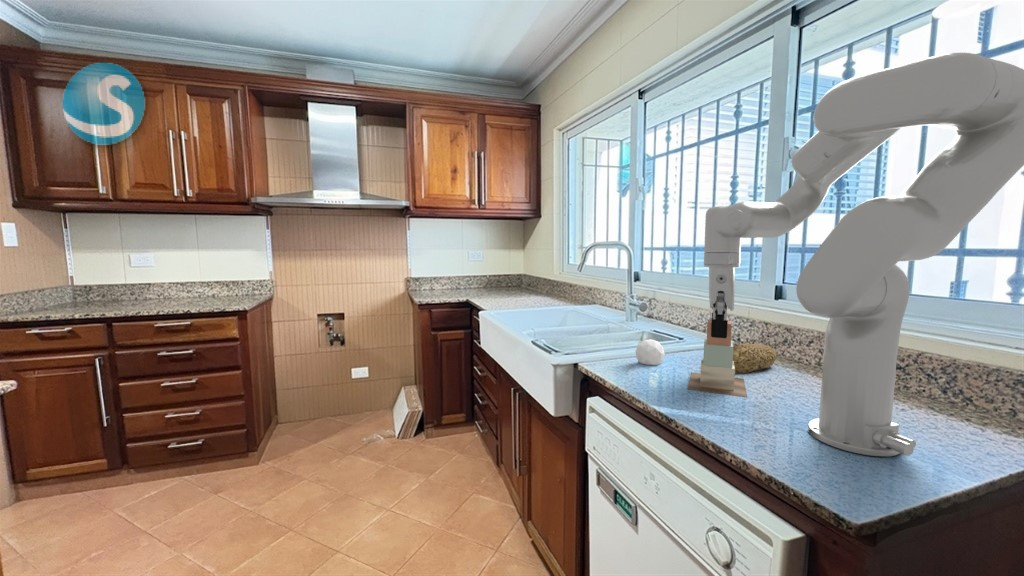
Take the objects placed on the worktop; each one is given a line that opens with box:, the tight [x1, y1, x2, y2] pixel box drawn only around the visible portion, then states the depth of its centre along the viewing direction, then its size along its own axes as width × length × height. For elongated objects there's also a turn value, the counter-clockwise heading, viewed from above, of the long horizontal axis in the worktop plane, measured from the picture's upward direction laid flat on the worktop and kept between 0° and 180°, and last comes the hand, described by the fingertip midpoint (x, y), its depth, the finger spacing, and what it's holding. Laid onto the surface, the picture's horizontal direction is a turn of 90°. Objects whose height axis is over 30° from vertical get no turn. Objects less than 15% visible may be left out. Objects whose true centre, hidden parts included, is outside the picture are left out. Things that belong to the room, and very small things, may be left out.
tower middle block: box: [702, 338, 734, 368], centre depth 96 cm, size 6×6×5 cm
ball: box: [635, 339, 665, 366], centre depth 115 cm, size 8×8×8 cm
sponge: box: [733, 343, 778, 374], centre depth 113 cm, size 13×8×20 cm
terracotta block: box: [706, 319, 733, 346], centre depth 96 cm, size 5×5×5 cm
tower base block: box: [700, 357, 736, 391], centre depth 97 cm, size 7×7×5 cm
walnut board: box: [687, 371, 748, 399], centre depth 97 cm, size 14×12×1 cm
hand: (718, 333), depth 96 cm, fingers open, 9 cm apart
